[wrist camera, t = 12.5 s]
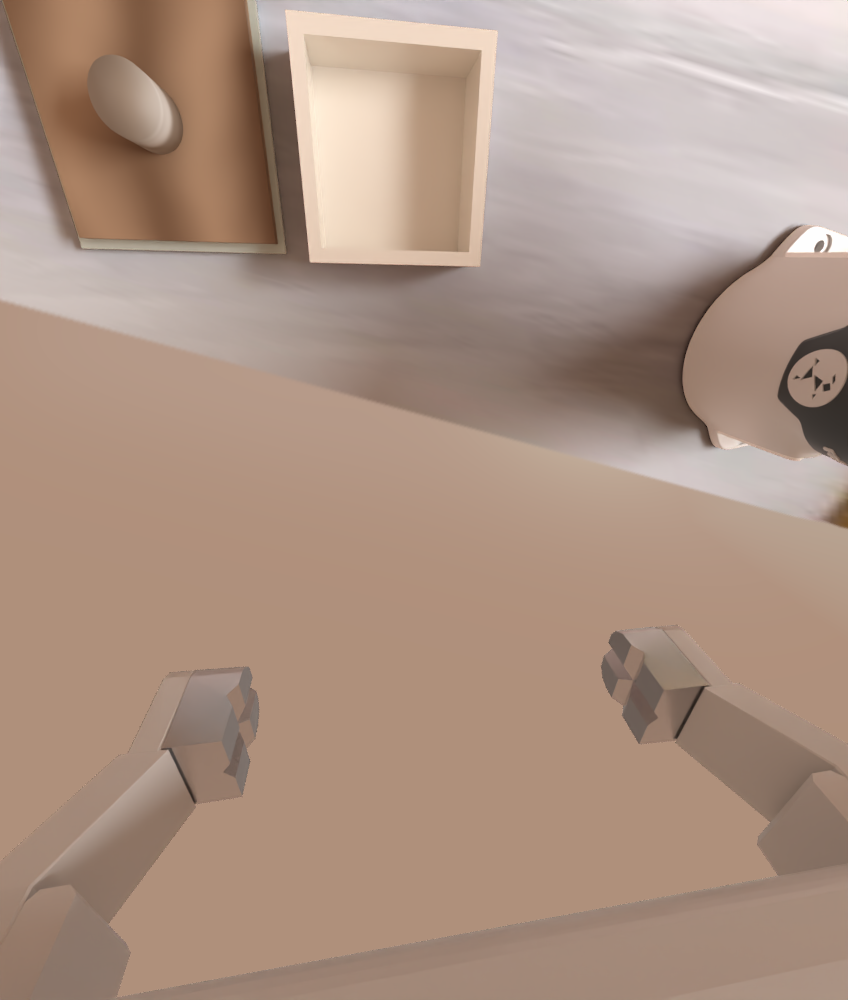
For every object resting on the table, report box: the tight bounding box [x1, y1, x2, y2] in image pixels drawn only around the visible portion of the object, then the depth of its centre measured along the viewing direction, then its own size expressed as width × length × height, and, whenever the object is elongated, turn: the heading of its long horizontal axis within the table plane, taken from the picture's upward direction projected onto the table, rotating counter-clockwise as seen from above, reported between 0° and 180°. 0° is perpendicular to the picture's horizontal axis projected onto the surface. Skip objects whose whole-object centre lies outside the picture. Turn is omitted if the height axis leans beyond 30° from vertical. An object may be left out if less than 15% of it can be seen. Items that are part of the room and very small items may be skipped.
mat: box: [1, 0, 287, 254], centre depth 25 cm, size 13×13×1 cm
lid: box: [3, 0, 278, 244], centre depth 23 cm, size 12×12×4 cm
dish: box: [285, 10, 498, 267], centre depth 26 cm, size 11×11×4 cm
